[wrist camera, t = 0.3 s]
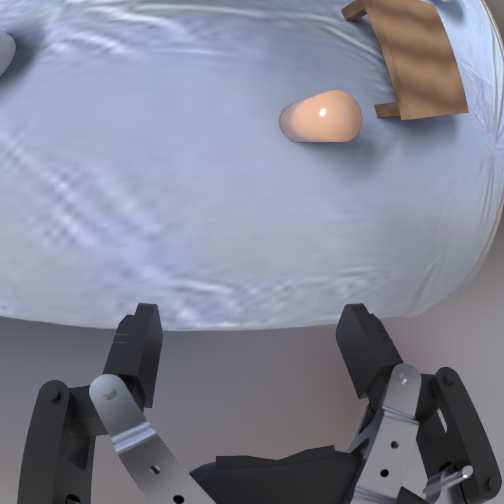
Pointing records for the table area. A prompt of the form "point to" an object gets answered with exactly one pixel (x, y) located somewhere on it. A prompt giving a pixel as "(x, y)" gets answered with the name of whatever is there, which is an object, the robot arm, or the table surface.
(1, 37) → the lumpy-topped squat cylinder
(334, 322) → the table surface
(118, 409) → the robot arm
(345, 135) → the peach rounded cylinder
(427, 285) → the table surface
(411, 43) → the footstool
